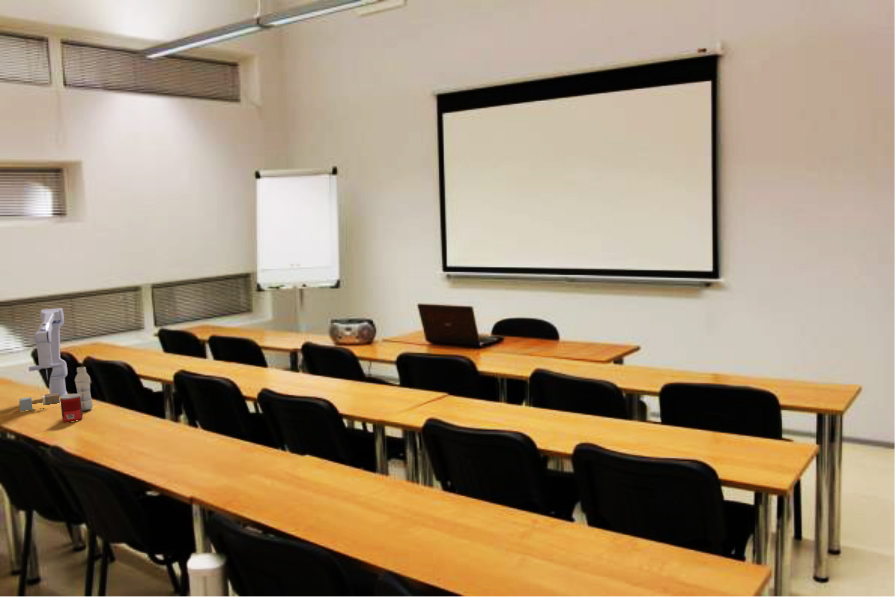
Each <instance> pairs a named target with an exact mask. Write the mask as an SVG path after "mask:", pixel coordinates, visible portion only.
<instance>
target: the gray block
mask: <svg viewBox="0 0 895 597" xmlns="http://www.w3.org/2000/svg"><path fill="white" fill-rule="evenodd" d="M18 400H19V404H18V405H19V407H20V411H25V412H27V411H26V410H32V411H34V410H33V407H32V403H33V399H32V397H31V396H30V397H24V398H23V397H22V398H19V399H18Z"/></svg>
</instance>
